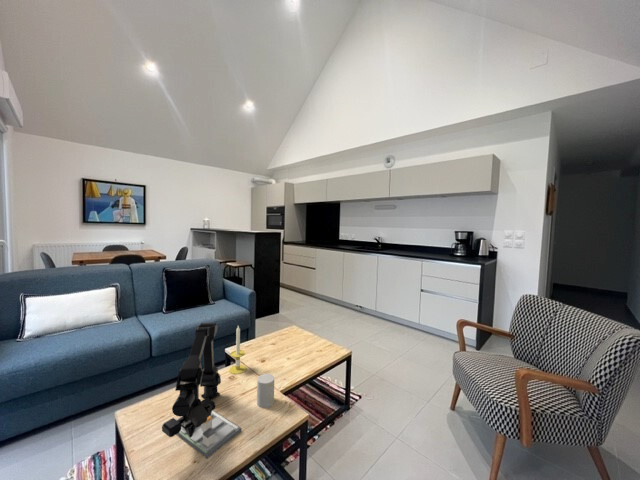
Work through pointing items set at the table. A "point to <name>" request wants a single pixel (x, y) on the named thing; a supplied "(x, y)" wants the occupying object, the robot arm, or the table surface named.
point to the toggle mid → (207, 424)
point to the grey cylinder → (265, 390)
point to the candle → (237, 356)
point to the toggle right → (208, 437)
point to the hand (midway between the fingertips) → (190, 436)
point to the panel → (222, 435)
